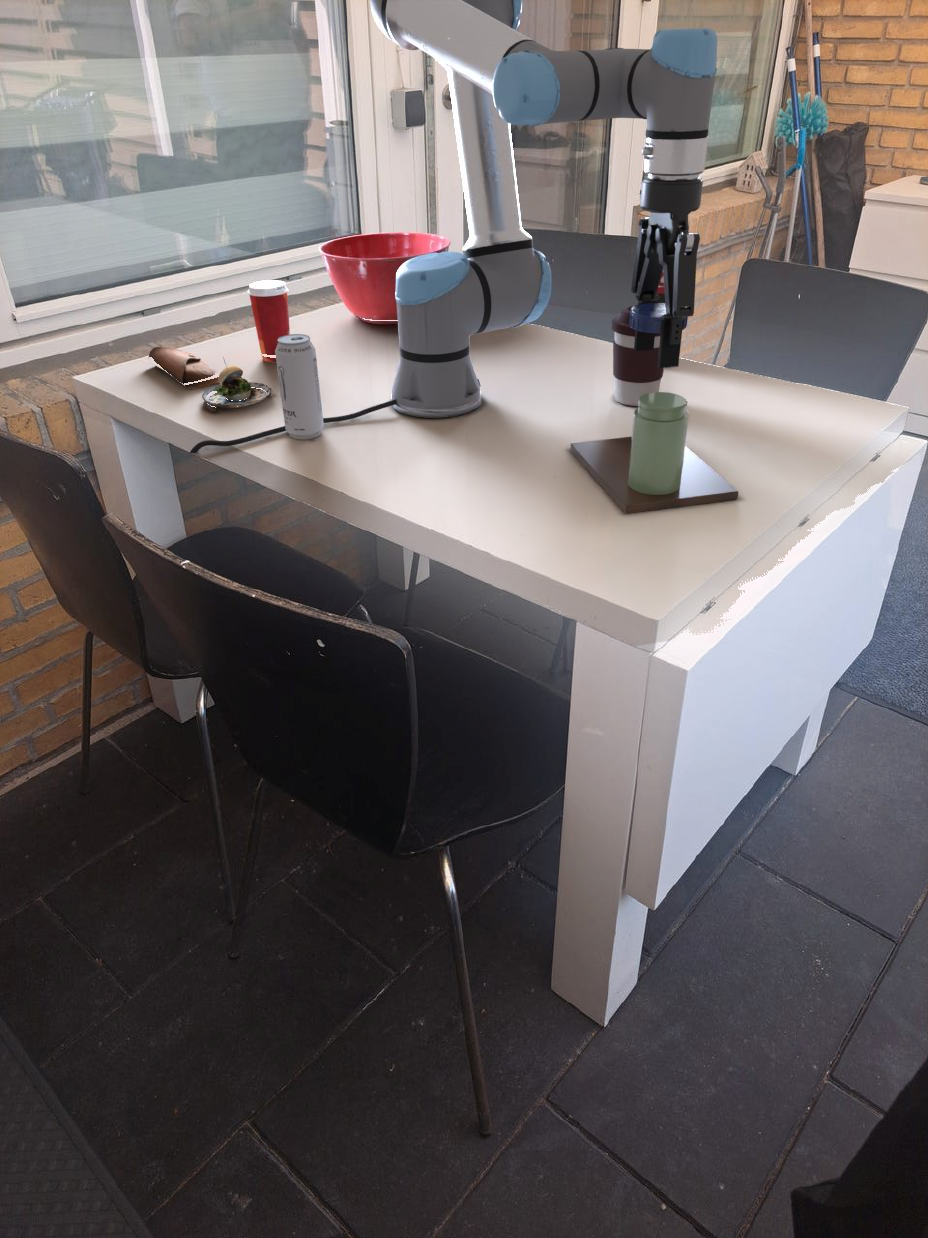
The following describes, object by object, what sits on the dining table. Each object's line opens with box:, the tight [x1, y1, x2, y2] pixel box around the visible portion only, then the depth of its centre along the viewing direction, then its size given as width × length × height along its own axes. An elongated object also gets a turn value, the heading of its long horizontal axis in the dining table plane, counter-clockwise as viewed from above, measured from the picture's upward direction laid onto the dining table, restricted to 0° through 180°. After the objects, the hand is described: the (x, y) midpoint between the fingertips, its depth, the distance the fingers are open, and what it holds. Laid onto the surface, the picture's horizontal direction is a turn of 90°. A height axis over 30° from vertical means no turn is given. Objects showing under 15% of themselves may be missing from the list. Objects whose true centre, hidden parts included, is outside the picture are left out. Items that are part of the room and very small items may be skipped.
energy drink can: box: [275, 333, 325, 441], centre depth 138 cm, size 6×6×15 cm
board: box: [569, 436, 740, 514], centre depth 127 cm, size 16×22×1 cm
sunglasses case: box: [148, 346, 220, 390], centre depth 168 cm, size 18×7×7 cm
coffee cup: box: [610, 304, 665, 407], centre depth 149 cm, size 10×10×15 cm
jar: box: [628, 391, 690, 495], centre depth 118 cm, size 7×7×12 cm
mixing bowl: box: [318, 231, 452, 325], centre depth 197 cm, size 28×28×15 cm
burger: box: [201, 356, 273, 413], centre depth 153 cm, size 12×12×8 cm
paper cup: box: [246, 279, 291, 363], centre depth 173 cm, size 8×8×14 cm
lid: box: [629, 303, 689, 333], centre depth 122 cm, size 8×8×2 cm
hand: (655, 357), depth 125 cm, fingers closed on lid, 7 cm apart
